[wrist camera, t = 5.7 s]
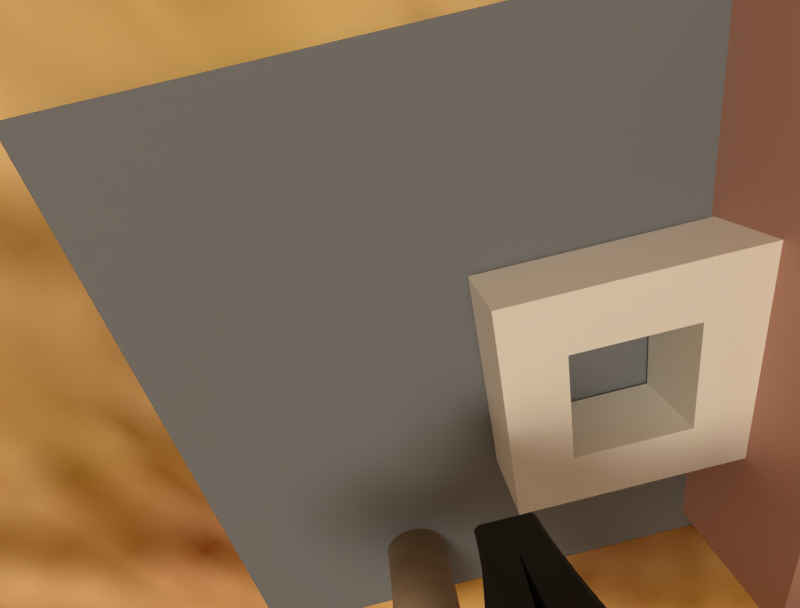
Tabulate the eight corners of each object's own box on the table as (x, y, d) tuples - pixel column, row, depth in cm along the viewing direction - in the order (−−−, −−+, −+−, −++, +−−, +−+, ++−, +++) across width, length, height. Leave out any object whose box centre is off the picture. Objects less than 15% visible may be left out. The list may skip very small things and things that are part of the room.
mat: (903, -91, 12) (929, -100, 11) (774, 490, 22) (785, 500, 21) (6, 121, 12) (-10, 123, 11) (282, 614, 21) (280, 628, 21)
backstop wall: (807, -25, 12) (1094, -96, 7) (725, 501, 21) (832, 616, 16) (733, -7, 12) (975, -67, 7) (682, 512, 21) (778, 631, 16)
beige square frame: (714, 216, 14) (783, 239, 12) (694, 411, 18) (745, 458, 16) (467, 276, 14) (491, 311, 12) (497, 460, 18) (519, 514, 15)
